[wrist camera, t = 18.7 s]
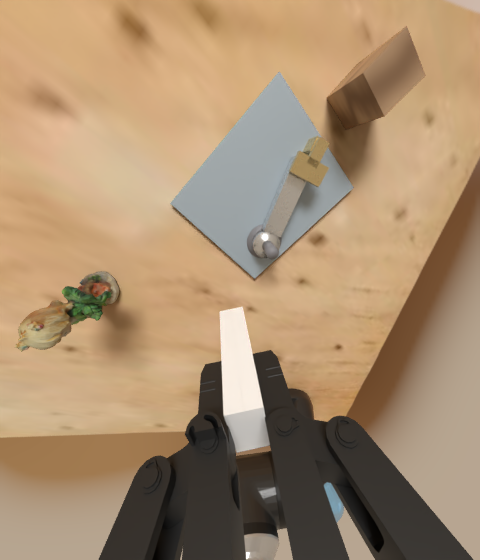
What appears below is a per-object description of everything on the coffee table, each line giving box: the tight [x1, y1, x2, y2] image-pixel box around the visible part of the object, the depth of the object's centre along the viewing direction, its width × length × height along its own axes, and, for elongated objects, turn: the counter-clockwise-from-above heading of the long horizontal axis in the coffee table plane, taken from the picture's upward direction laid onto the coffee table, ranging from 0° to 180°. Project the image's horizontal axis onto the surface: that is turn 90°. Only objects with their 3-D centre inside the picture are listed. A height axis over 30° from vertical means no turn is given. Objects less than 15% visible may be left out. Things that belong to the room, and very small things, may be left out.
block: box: [327, 26, 425, 130], centre depth 26 cm, size 5×5×8 cm
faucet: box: [252, 156, 307, 258], centre depth 33 cm, size 15×4×2 cm, turn 159°
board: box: [170, 72, 354, 279], centre depth 31 cm, size 19×22×7 cm
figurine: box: [15, 272, 119, 352], centre depth 31 cm, size 9×8×15 cm
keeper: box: [289, 136, 330, 187], centre depth 30 cm, size 5×5×4 cm
